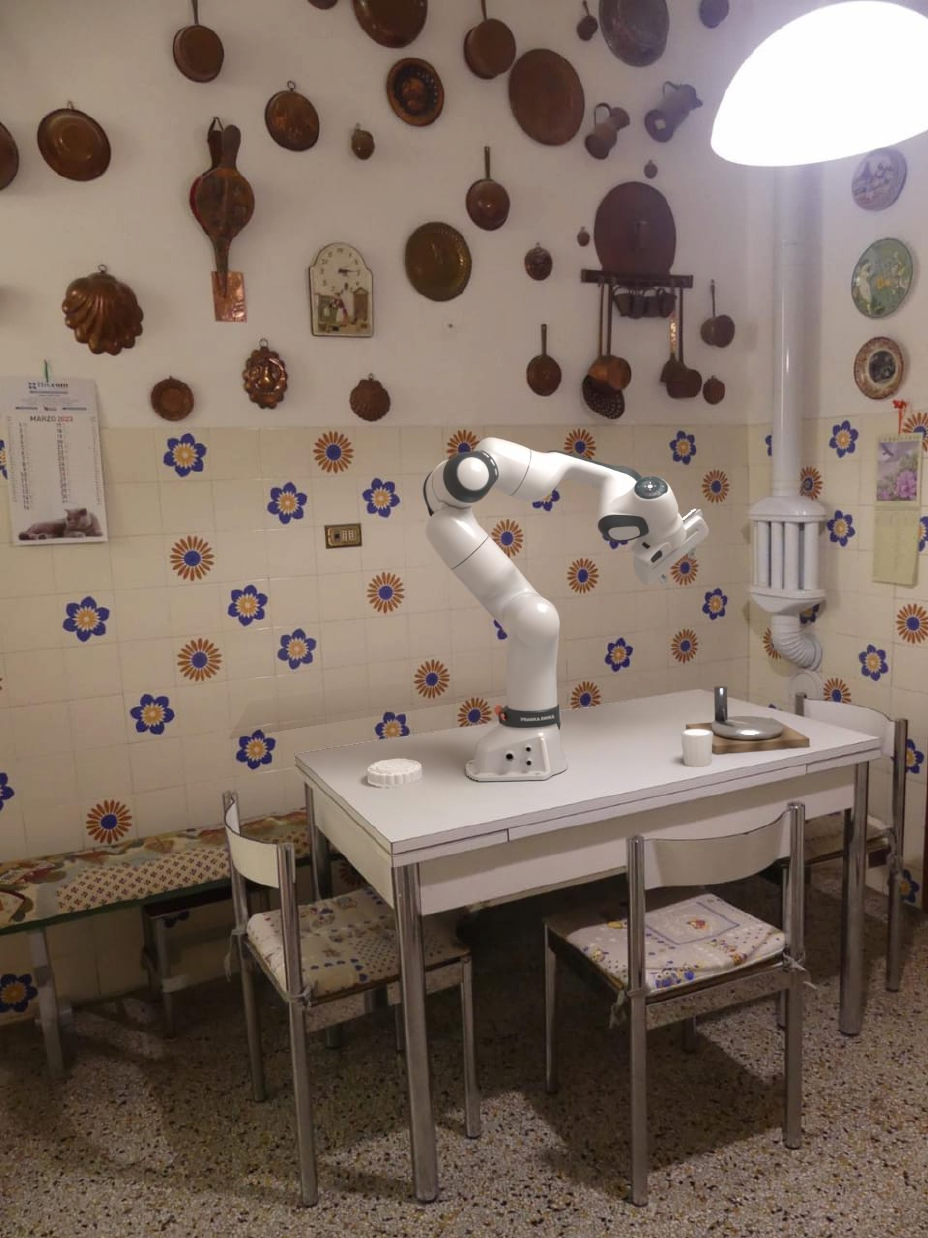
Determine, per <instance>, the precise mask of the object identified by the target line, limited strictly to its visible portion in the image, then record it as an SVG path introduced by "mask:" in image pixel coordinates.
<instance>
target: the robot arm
mask: <svg viewBox="0 0 928 1238" xmlns="http://www.w3.org/2000/svg"><path fill="white" fill-rule="evenodd" d="M565 480H569V481H570V482H571V481H572V482H575V483H579V484H583V485H585V486H589V487H592V488H594V489H595V490H596V491H597V492H598V495H599V498H598V499H599V501H598V503H599V505H598V511H597V513H598V514H597V530H598V531H599V532H600V534H602V535H603V537H605V538H607V539H608V540H611V541H614V542H619V543H622V542H623V543H624V542H630V541H633V540H635V542H634V543H633V544H632V545H631V546H630V550H629V551H630V553H631V554H632V555H633V558H632V565H633V569H634V570H633V571H634V573H635V576H636V578H637V579H638V580H639V581H640V582H641V583H643V584H644V585H647V586H650V585H651V584H653V583H654V582H655V581H656V580H658V582H659V583H660V584H661V585H662V586H663V585H665V584H666V583H667V582H668V581H669V580H668V576H666V575H664V573H666V572H667V571H668V570H669V569H670V568H672V567H673V566H674V565H675V564H676V563H678V562H679V561H680V560H681V559H682V558H683V557H684V556H686V555H687V557H688V558H689V559H691V560H695V558H697V557H698V554H697V551H698V548H699V544H700V543H701V542H702V541H703V540H704V539H706V538H707V537H708V535H709V533H710V530H709V527H708V525H707V523H706V521H705V519H704V518H703V512H702V509H701V508H699V507H697V508H692V509H691V510H689V511H688V513H686V514H685V515H684V516H682V515H681V513H680V512H679V504H678V501H677V499H676V497H675V494H674V491H673V490H672V488H671V486H670V485H669V483H668V482H666V481H665V480H664V479H663V478H661V477H660V476H656V475H648V476H644V477H642V476H641V475H640V473H639V472H637V471H636V470H634V469H633V468H631V467H627V466H624V465H623V466H622V465H615V464H608V463H604V462H601V461H597V460H593V459H591V458H587V457H584V456H581V455H577V454H574V453H571V452H567V451H563V450H562V451H561V450H556V449H555V450H548V451H546V452H540V451H535V450H533V449H530V448H529V447H527V446H524V445H521V444H519V443H515V442H513V441H509V440H506V439H502V438H498V437H494V436H493V437H486V438H483V439H482V440H480V441H479V442H478V443H477V444H476V446H475V447H474V448H473V450H472V451H464V452H463V451H462V452H459V453H457V454H456V453H455V454H454V455H452V456H451V457H450V458H449V459H446V460H444V461H442V462H440V463H439V464H438V465H437V466H436V467H435V468H434V469H433V470H432V471H431V472H429V473H428V474H427V476H426V478H425V480H424V482H423V486H422V496H423V500H424V502H425V505H426V508H427V511H428V515H429V519H428V521H427V523H426V526H425V536H426V538H427V540H428V542H429V544H431V546H432V548H433V549H434V551H435V553H436V554H437V555H438V557H439V558H440V560H441V561H442V562H443V564H445V566H446V567H448V569H449V571H451V572H452V573H453V575H454V576H455V577H456V578H457V579H458V580H459V581H460V583H462V585H463V586H464V587H465V588H466V589H467V590H468V592H470V593H471V595H473V597H474V598H475V599H476V600H477V601H478V602H479V603H480V604H481V606H482V607H483V608H484V609H485V610H486V611H487V613H488V614H490V616H491V617H492V618H493V619H494V620H495V621H496V622H497V623H498V625H499V627H501V628H502V629H503V631H505V632H506V635H507V650H506V651H507V652H506V654H507V655H506V666H505V668H506V669H505V683H506V685H505V686H506V688H505V689H506V705H505V706H503V707H502V706H501V705H495V707H494V708H493V710H494V712H493V713H495V715H496V716H497V717H498V723H497V725H496V726H494V727H493V728H492V729H491V730H489V731H488V732H487V733H486V734H485V735H483V736H482V737H481V738H480V739H479V740H478V742H477V743H476V747H475V752H474V759H471V760H469V761H467V763H466V764H465V769H466V771H465V773H467V774H468V775H467V774H466V775H467V777H468V776H469V777H468V778H470V777H471V778H472V779H471V778H470V779H471V780H473V779H475V780H474V781H476V780H478V781H477V782H507V781H511V782H512V781H544V780H547V779H549V778H551V777H552V776H553V775H558V774H560V773H562V772H564V771H565V770H566V769H567V768H568V764H567V761H566V757H565V754H564V750H563V749H564V748H563V746H562V739H561V733H560V730H561V723H562V720H561V708H560V704H559V703H558V687H557V686H558V685H557V684H558V682H557V663H558V656H559V655H558V652H559V642H560V640H559V638H560V628H561V627H560V625H561V622H560V621H561V620H560V615H559V612H558V610H557V608H556V607H555V605H554V604H553V603H552V602H551V601H550V600H548V599H547V598H544V597H543V596H542V595H541V594H540V593H538V592H537V590H536V589H535V588H534V587H533V586H532V585H531V583H530V582H529V581H528V579H526V577H525V576H524V575H523V573H522V572H521V571H520V570H519V569H518V567H517V566H516V565H515V563H514V562H513V561H512V559H511V558H509V556H508V555H507V554H506V553H505V552H504V551H503V549H502V548H500V546H499V545H498V544H497V543H496V542H495V541H494V539H493V538H492V537H491V536H490V535H489V533H487V531H485V529H484V528H482V526H481V525H479V522H478V521H477V520H476V517H475V516H474V513H473V508H472V506H474V505H475V504H476V503H478V502H479V501H481V500H483V498H484V497H485V498H486V496H487V495H488V493H489V492H490V491H491V489H492V490H496V491H499V492H501V493H503V494H505V495H507V496H509V497H512V498H514V499H516V500H519V501H522V502H525V503H538V502H540V501H543V500H544V499H545V498H547V497H549V496H550V495H551V494H552V492H553V491H554V490H555V488H556V487H557V486H558V485H559V483H560V482H561V481H565Z"/></svg>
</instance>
